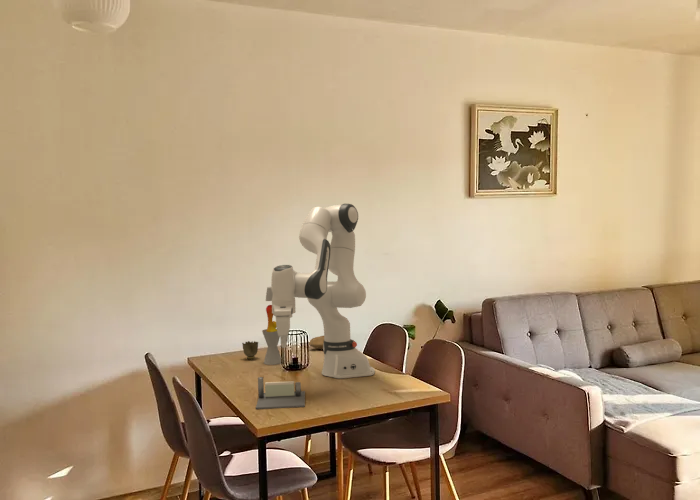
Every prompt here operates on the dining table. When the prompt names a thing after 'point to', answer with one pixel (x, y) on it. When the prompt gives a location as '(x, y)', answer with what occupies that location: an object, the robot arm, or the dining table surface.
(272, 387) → the cream plank
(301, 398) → the yard mat
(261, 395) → the posts
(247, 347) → the cup
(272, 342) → the lava lamp
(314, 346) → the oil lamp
